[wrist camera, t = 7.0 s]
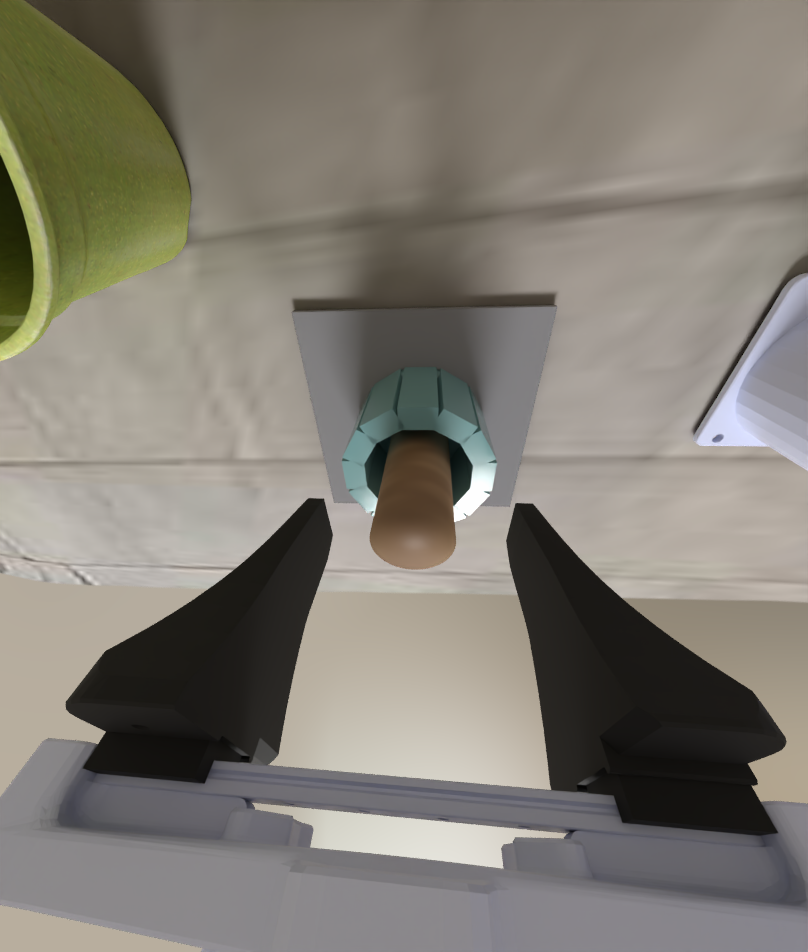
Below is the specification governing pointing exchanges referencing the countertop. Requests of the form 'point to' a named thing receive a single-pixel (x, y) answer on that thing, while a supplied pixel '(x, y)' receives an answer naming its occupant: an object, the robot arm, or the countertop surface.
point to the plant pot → (75, 177)
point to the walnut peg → (415, 502)
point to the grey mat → (426, 345)
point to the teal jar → (421, 408)
